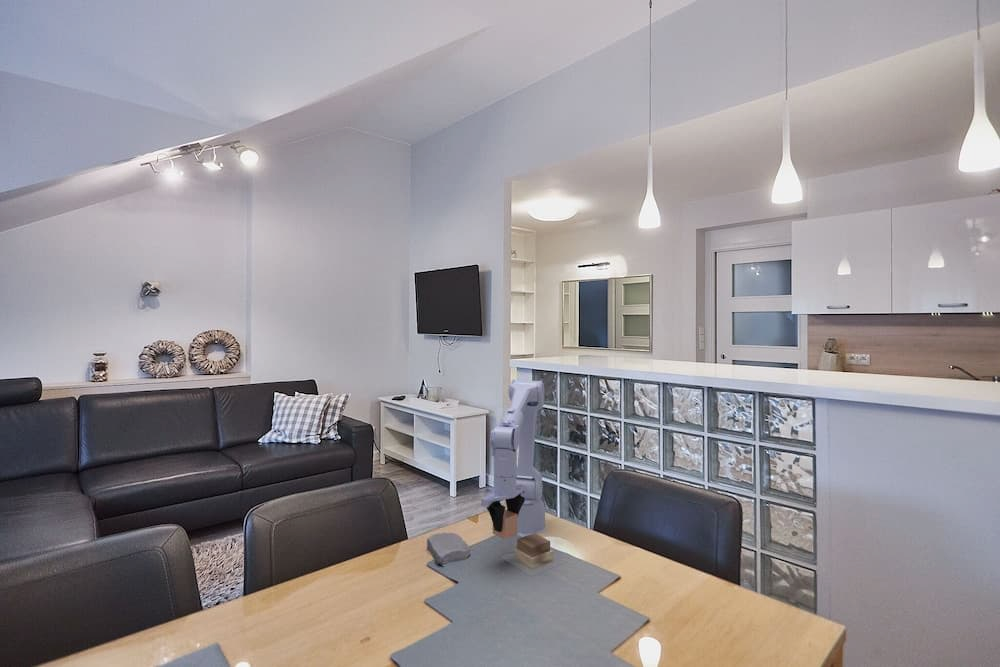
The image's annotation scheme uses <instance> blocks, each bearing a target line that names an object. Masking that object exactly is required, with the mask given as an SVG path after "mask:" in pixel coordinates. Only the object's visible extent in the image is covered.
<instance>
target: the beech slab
mask: <svg viewBox="0 0 1000 667" xmlns="http://www.w3.org/2000/svg"><path fill="white" fill-rule="evenodd" d="M513 550H514V552H513V553H514V558H515V559H517V560H518V561H520V562H522V563H523V564H525V565H526V566H528V567H530V568H531V569H533V568H535V567H538V566H541V565H543V564H546V563H549V562H551V561H553V554H554V550H552V549H550V551H549V552H546V553H543V554H540V555H537V556H535V557H530V556H529V555H527V554H525V553H524V552H522V551H520V550H519V549H517V547H515V548H514V549H513Z"/></svg>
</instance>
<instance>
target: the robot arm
mask: <svg viewBox="0 0 1000 667" xmlns="http://www.w3.org/2000/svg"><path fill="white" fill-rule="evenodd" d="M508 397H509V399H510V404H509V407H508V408H505V410H504V411H503V412H502V416H500V417H501V418H500V420H499V423H498V424H497V426H495V427H493V428H492V429H491V432H490V440H489V441H490V448H491V456H492V457H493V488H492V489H491V492H489V493H487V494H486V495H484V496H482V497H481V498H480V506H481V507H484V508H486V510H487V511H488V514H489V516H490V519H491V522H492V527H493V526H494V530H495V531H498V532H501V531H502V525H503V515H504V511H505V509H506V510H508V511H511V512H513V513H516V514H517V534H516V535H517V536H519V537H520V538H521V537H524V536H527V535H530V534H534V533H536V534H538V533H540V532H542V531H546V530H547V529H548V528H547V527H546V506H545V503H544V501H543V500H542V497H543V487H544V486H543V476H542V473H541V472H540V471H539V470H538V469H536V468H535V466H534V461H535V460H534V458H535V443H536V442H535V441H536V424H537V417H538V416H537V415H538V411H540V410H542V409H543V408H544V404H545V384H544V382H543V380H518V379H511V381H510V382H509V384H508ZM517 450H518V453H517ZM517 455H518V456H517ZM502 501H505V505H506V506H505V505H503V504H502V503H501V502H502Z"/></svg>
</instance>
